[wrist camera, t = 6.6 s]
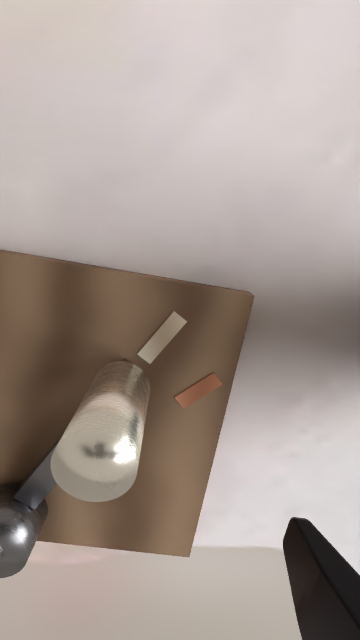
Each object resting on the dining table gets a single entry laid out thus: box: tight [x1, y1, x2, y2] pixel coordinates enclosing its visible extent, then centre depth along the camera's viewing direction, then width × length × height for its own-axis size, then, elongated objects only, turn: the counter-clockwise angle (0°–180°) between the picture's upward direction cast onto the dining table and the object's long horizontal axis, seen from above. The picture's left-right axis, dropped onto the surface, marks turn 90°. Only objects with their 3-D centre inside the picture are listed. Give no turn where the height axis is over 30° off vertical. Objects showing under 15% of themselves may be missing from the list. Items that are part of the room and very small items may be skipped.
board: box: [0, 250, 254, 557], centre depth 20 cm, size 23×21×1 cm
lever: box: [0, 358, 150, 578], centre depth 16 cm, size 17×4×7 cm, turn 141°
